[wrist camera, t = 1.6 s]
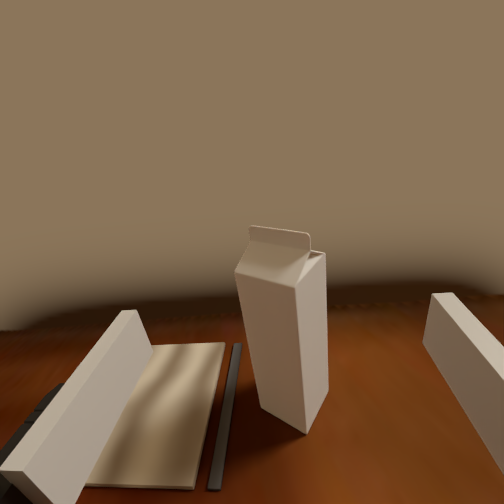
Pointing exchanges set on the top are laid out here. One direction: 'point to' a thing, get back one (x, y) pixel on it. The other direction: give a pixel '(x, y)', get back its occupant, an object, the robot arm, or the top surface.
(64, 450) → the robot arm
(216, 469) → the mat
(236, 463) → the top surface
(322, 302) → the milk
